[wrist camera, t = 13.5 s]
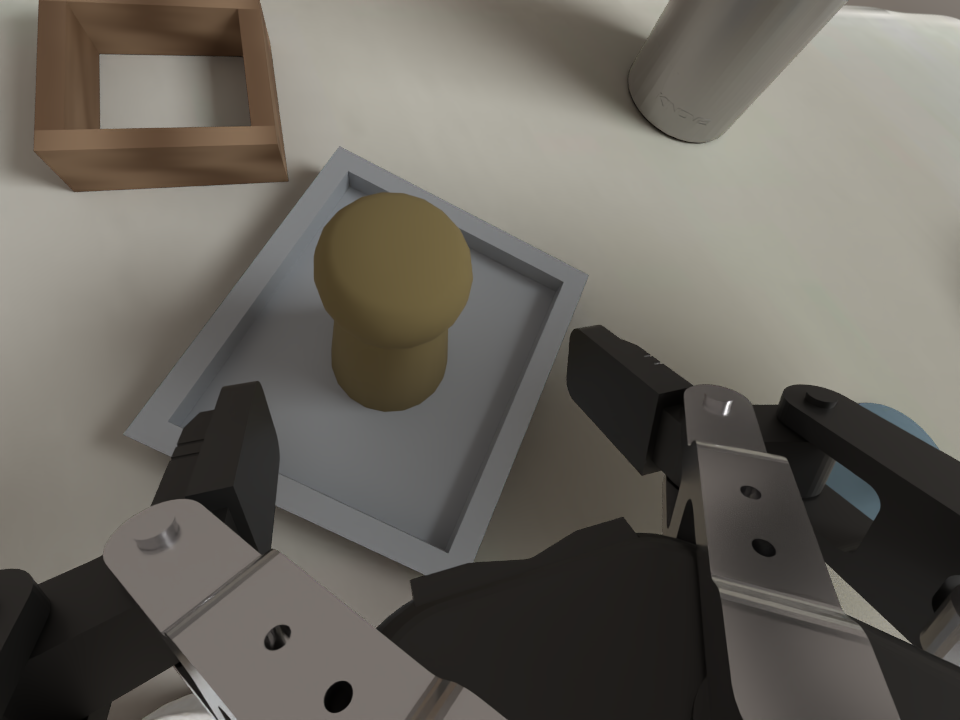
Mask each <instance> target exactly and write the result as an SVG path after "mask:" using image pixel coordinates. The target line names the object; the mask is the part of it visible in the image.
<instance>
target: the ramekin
mask: <svg viewBox="0 0 960 720" xmlns="http://www.w3.org/2000/svg"><path fill="white" fill-rule="evenodd" d="M142 720H214V719H213V718H212V717H211V715H210V714H209V713H208V711H207V710H206V709H205V708H204V706H203V705H202V704H201V702H200V701H199V700H198V698H197V697H196V696H195V695H194V693H193V694H189V695H186V696H183V697H181V698H179V699H177V700H174V701H171V702H169V703H167V704H165V705H163V706H161V707H160V708H158V709H157V710H156V711H154V712H152V713H150V714H149V715H147V716H146V717H144V718H143V719H142Z"/></svg>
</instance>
